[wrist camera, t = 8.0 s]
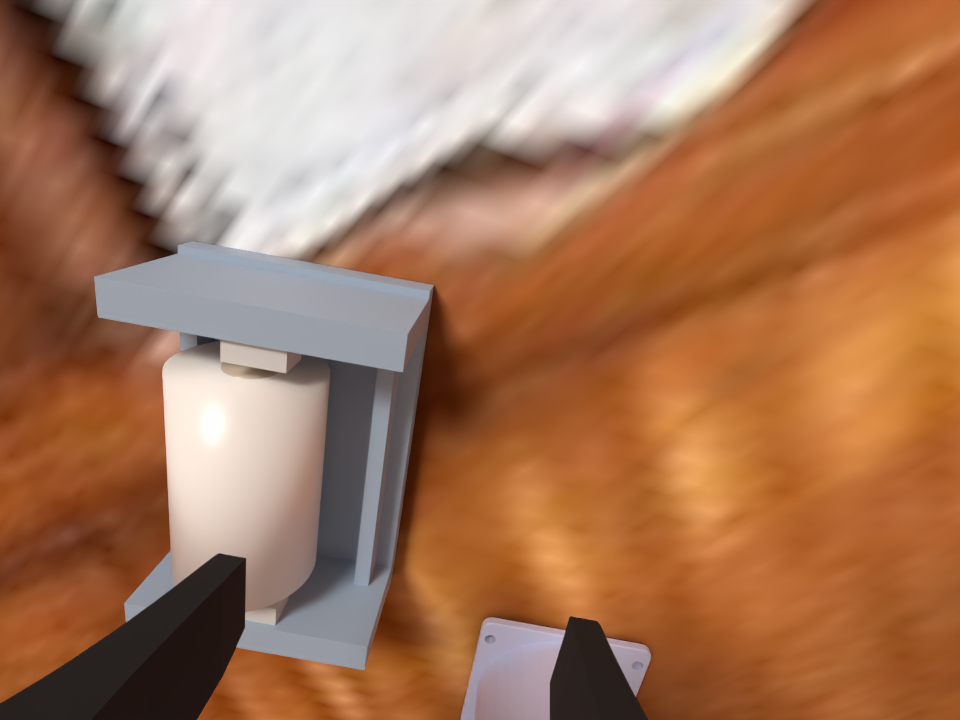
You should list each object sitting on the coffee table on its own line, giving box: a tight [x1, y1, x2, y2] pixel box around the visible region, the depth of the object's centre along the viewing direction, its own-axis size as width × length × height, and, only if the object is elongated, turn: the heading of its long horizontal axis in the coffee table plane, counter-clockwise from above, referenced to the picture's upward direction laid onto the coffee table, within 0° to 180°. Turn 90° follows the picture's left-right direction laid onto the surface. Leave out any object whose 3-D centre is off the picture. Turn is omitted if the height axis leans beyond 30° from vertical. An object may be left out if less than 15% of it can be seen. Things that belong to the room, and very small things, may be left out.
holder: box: [94, 241, 434, 670], centre depth 20 cm, size 14×9×5 cm, turn 170°
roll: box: [162, 341, 330, 612], centre depth 19 cm, size 8×5×5 cm, turn 170°
